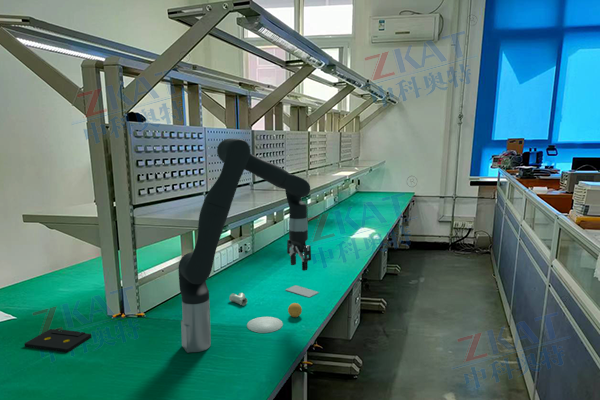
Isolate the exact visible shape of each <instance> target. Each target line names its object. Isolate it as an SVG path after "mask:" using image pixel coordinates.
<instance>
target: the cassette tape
mask: <svg viewBox="0 0 600 400" xmlns="http://www.w3.org/2000/svg"><path fill="white" fill-rule="evenodd" d="M90 339H92V334H91V333H86V332H84V331H83V332H82V331H76V330H68V329H67V330H66V329H58V328H57V329H52V328H51V329H47V330H45V331H44V332H42V333H41V334H38V335H36V336H35V337H33V338H32V339H30V340H28V341H25V342H24V348H28V349H29V348H30V349H35V350H36V349H37V350H44V351H50V352H51V351H52V352H57V353H58V352H60V353H65V354H67V353H70V352H71V351H73V350H75V349H76V348H78V347H79V346H80V345H82V344H83V343H84V344H85V342H87V341H89V340H90Z"/></svg>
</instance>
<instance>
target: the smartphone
mask: <svg viewBox="0 0 600 400" xmlns="http://www.w3.org/2000/svg"><path fill="white" fill-rule="evenodd" d="M284 291H286V292H287V293H291V294H295V295H298V296H302V297H305V298H312V297H314V296H317V295H318V294H319V293H320V291H316V290H313V289H310V288H307V287H304V286H300V285H295V284H294V285H293V286H290V287H288V288H286V289H285V290H284Z"/></svg>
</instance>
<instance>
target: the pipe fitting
mask: <svg viewBox="0 0 600 400" xmlns="http://www.w3.org/2000/svg"><path fill="white" fill-rule="evenodd" d="M228 300H229V301H230V302H232V303H236V304H238V305H240V306H246V305H247V304H248V298H247V297H246V295H245V293H243V292H239V293H238V295H237V294H236V293H231V294H230V295H229V299H228Z"/></svg>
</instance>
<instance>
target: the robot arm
mask: <svg viewBox="0 0 600 400" xmlns="http://www.w3.org/2000/svg"><path fill="white" fill-rule="evenodd" d="M216 149H217V150H216V153H217V156H218V159H219V160H220V161H221V162H222V163H223V164H222V165H223V166H222V169H221V171H220V174H219V176H218V177H217V179H216V181H215V182H214V183H213V185H212V186H211V188H210V189H209V190H208V192H207V194H206V196H205V197H204V200H203V203H202V206H201V209H200V210H199V216H198V224H197V225H198V227H197V228H198V229H197V237H196V238H197V239H196V243H195V246H194V249H193V251H192V252H187V253H186V254H184V255H182V257H181V258H180V260H179V263H178V283H179V291H180V296H181V306H182V307H181V308H182V309H181V310H182V319H181V320H180V326H181V328H180V329H181V332H180V333H181V347H182V348H183V349H184V350H185V352H186V353H187V354H188V353H199V352H203V351H206V350H208V349H209V348H210V347H211V345H212V344H211V342H212V340H211V308H210V304H211V303H210V290H209V288H208V285H207V282H206V281H207V279H208V278H209V277H210V276H211V272H212V269H213V265H214V261H215V255H216V252H217V248H218V245H219V242H220V239H221V236H222V233H223V230H224V227H225V224H226V221H227V220H228V219H227V218H228V216H229V213H230V211H231V210H230V209H231V206H232V204H233V201H234V198H235V194H236V192H237V189H238V186H239V182H240V180H241V178H242V175H243V173H244V171H247V172H249V173H251V174H253V175H254V176H257V177H259V178H261V179H262V180H264V181H266V182H267V183H269V184H272V185H273V186H275V187H276V188H279V189H282V190H283V189H284V191H285V196H286V200H287V201H286V202H287V204H288V207H289V209H288V211H289V213H288V214H289V220H288V236H289V237H288V239H287V241H286V242H287V244H286V247H287V248H286V253H287V255H288V254H289V256H290V265H291V266H296V265H297V256H296V255H297V254H298V256H299V257H300V259H301V270H302V271H303V272H306V271H308V268H309V266H308V262H309V261H312V250H311V249H312V248H311V245H307V244H306V242H307V241H308V239H309V232H308V231H309V230H308V228H309V227H308V209H307V207H308V206H307V204H306V203H305V202H304V201H302V198H305V197H307V196H308V195H309V194H310V192H311V185H310V183H309V182H308V181H307V180H306V179H304V178H302V177H301V176H297V175H295V174H293V173H290V172H289V171H287V170H286V169H284V168H282V167H280V165H279V166H278V165H277V164H274V163H272V162H270V161H267V160H265V159H262V158H260V157H258V156H256V155H254V154H252V153H251V147H250V144H249V143H248V142H247V141H246V140H244V139H240V138H226V139H223V140H222V141H220V143H219V144H218V145H217V148H216Z"/></svg>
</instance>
